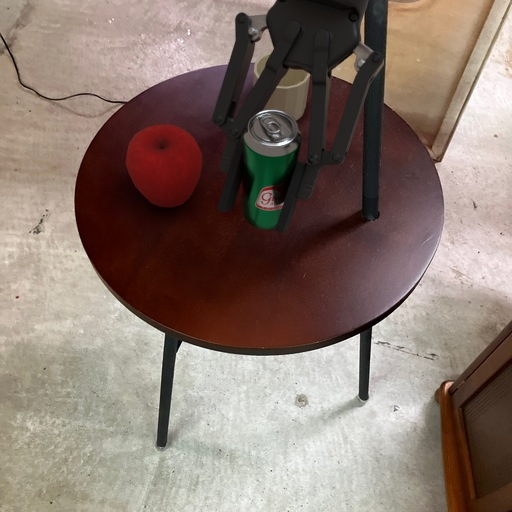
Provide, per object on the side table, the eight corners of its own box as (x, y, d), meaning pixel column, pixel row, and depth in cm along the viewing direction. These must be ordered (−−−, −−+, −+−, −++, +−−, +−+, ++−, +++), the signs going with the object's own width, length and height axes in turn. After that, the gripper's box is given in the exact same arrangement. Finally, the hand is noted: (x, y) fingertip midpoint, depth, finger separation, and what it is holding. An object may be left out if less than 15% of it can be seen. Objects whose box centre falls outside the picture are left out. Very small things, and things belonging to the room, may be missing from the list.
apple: (214, 211, 74) (212, 155, 65) (145, 231, 72) (132, 176, 63) (191, 159, 79) (186, 101, 70) (126, 176, 77) (112, 118, 68)
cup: (305, 90, 88) (310, 52, 82) (304, 126, 84) (310, 89, 78) (254, 86, 88) (255, 49, 82) (251, 122, 84) (252, 86, 78)
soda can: (257, 240, 55) (263, 157, 44) (232, 205, 57) (232, 118, 47) (300, 220, 56) (314, 135, 46) (274, 187, 58) (282, 98, 48)
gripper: (438, -1, 48) (348, 246, 54) (248, -51, 51) (181, 187, 57) (445, -29, 41) (340, 259, 46) (223, -85, 44) (150, 190, 50)
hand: (253, 219), depth 52 cm, fingers closed on soda can, 5 cm apart
